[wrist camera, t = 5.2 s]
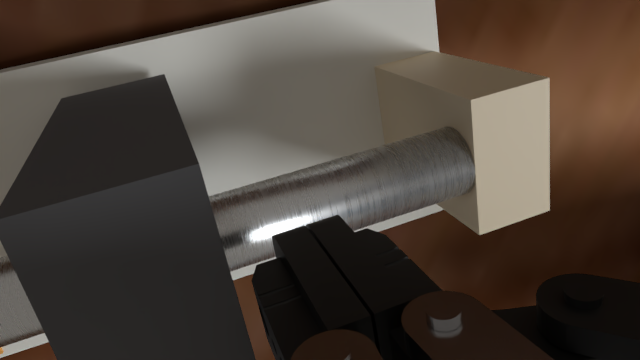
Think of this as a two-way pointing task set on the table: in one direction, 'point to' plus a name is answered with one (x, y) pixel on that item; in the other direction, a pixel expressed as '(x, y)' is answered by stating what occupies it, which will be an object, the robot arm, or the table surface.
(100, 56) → the pipe stand
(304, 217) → the metal pipe
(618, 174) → the table surface
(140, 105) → the grey sliding block
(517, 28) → the table surface
